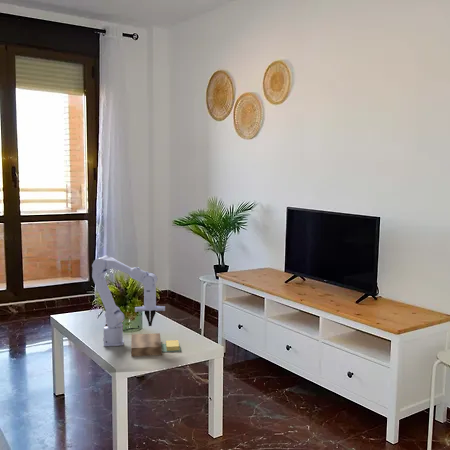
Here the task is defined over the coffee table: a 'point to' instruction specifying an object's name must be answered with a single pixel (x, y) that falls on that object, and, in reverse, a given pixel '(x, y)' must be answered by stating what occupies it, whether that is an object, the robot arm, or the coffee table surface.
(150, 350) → the deck
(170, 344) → the yellow rectangular block
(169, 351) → the mat
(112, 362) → the coffee table surface
